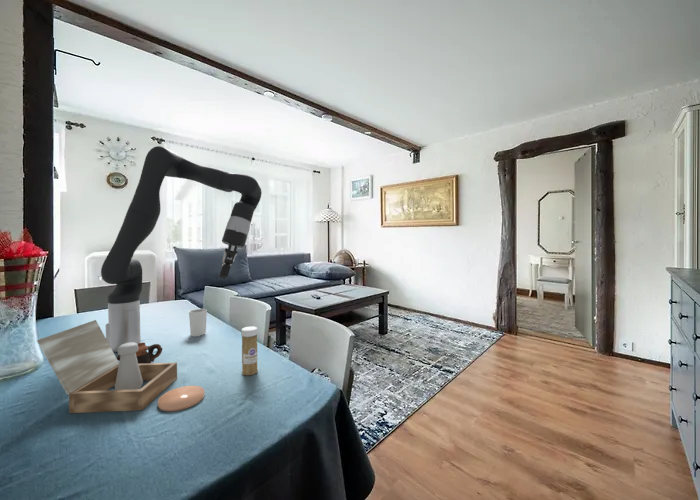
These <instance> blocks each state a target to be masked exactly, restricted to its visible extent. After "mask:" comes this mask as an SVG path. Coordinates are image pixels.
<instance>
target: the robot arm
mask: <svg viewBox="0 0 700 500" xmlns="http://www.w3.org/2000/svg"><path fill="white" fill-rule="evenodd" d="M142 166H143V167H142V169H141V173H140V178H139V181H138V183H137V187H136V189H135V192H134V195H133V197H132V199H131V202H130V204H129V206H128V209H127V211H126V214H125V216H124V219H123V222H122V225H121V226H120V229H119V231H118V233H117V236H116V238H115V241H114V243H113V244H112V247H111V249H110V250H109V252H108V254H107V256H106V258H105V260H104V261H103V263H102V266H101V268H100V269H101V270H100V275H101V277H102V280H103V281H104V282H105V283H107V284H110V285H116V286H115V288H114V290H113V291H112V292H110V293H109V294H108V295H107V311H108V313H107V316H108V317H107V318H108V323H106V324H105V338H106V340H107V342H108V343H109V345H110V347H111V349H112V351H113V353H117V352H118V351H117V350H118V347H119V346H120V345H122V344H125V343H131V342H134V343H142V342H141V341H142V339H141V338H142V337H141V334H142V333H141V306H140V305H141V304H140V301H141V300H140V296H141V293H142V289H143V266H142V263H141V262H140V260H138V259H137V258H135V257H134V254H135V252H136V251H137V249H138V248H139V247H140V246H141V244H142V243H143V242H144V241H145V240H146V239H147V238H148V237H149V236H150V235H151V234H152V232H153V230H154V229H155V227H156V225H157V222H158V221H159V218H160V214H161V197H160V196H161V195H160V193H161V187H162V184H163V183H164V182H163V181H164V179H165V178H166V177H168V178H176V179H177V178H178V179H185V180H189V181H194V182H197V183H198V184H199V183H200V184H202V185H204V186H207V187H210V188H213V189H216V190H219V191H222V192H225V193H232V192H236V193H238V194H240V195H241V197H240V199H239V201H238V202H236V203H234V205H233V207H232V211H231V213H230V217H229V218H228V221H227V223H226V226H225V229H224V232H223V236H222V240H221V242H222V243H223V244H224V245H227V246H228V248H227V247H226V248H225V249H224V252H223V257H222V259H221V260H222V264H221V269H220V272H219V275H218V277H219V278H220V279H225V280H226V278H228V277H229V274H230V270H231V267H232V266H233V263H234V262H235V259H236V257H237V255H238V251H237V249H238V248H239V249H243V248H245V246H246V243H247V240H248V236H249V233H250V230H251V229H250V228H251V223H252V220H253V217H254V212H255V211H256V209H257V207H258V206H259V203H260V201H261V198H262V192H263V191H262V188H261V186H260V185H259V182H258V180H257V179H255V177H252V176H250V175H248V174H243V173H242V174H241V173H233V172H229V171H226V170H223V169H220V168H217V167H216V168H215V167H212V166H206V165H201V164H197V163H195V162H192V161H191V160H188V159H186V158H184V157H182V156H180V155H179V154H178V153H176V152H174V151H173V150H170V149H169V148H166V147H164V146H160V145H157V146H154V147H152V148H150V149H149V151H148V152H147V154H146V156H145V158H144V162H143V165H142Z"/></svg>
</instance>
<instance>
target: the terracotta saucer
mask: <svg viewBox="0 0 700 500" xmlns="http://www.w3.org/2000/svg"><path fill="white" fill-rule="evenodd" d="M204 397H205V389H204V388H203V387H201V386H199V385H198V386H197V385H185V386H180V387H177V388H176V387H175V388H174V389H170V390H168V391H167V392H165V393H163V394H162V395H161V396H160V397H159V398H158V400H157V407H158V409H159V410H161V411H163V412H178V411H182V410H186V409H188V408H191V407H193V406H196V405H198V404H199V403H200V402H201V401H202V400H203V399H204Z"/></svg>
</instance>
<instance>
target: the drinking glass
mask: <svg viewBox="0 0 700 500" xmlns="http://www.w3.org/2000/svg"><path fill="white" fill-rule="evenodd" d="M207 311H208V310H207V309H206V308H195V309H190V310H189V311H188V317H189V318H188V319H189V330H190V336H191V337H201V336H200V335H202V336H204V335H203V334H205V333H206V334H207V315H208V313H207ZM206 334H205V335H206Z"/></svg>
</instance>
